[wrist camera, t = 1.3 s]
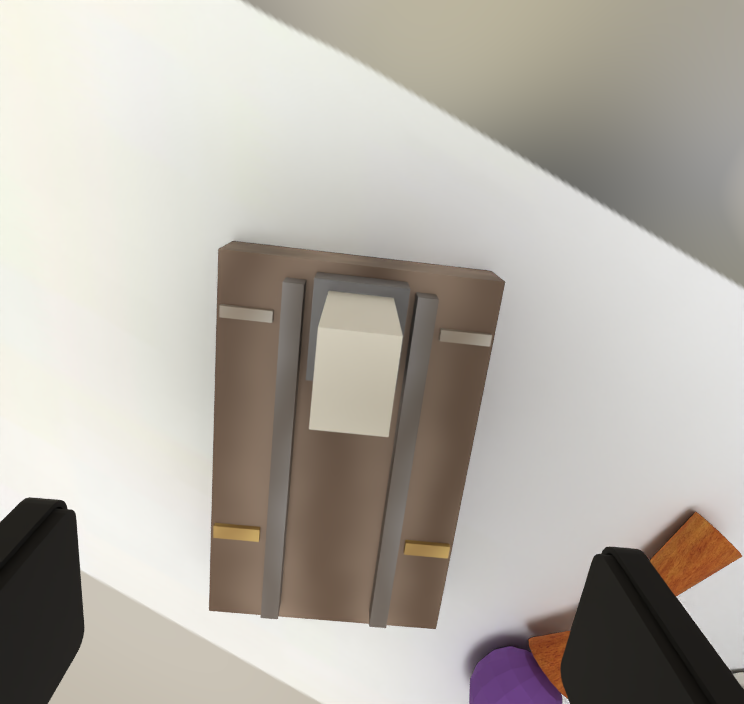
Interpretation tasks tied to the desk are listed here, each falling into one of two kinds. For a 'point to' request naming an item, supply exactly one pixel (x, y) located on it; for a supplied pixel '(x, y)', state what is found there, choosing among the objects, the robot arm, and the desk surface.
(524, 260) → the desk surface
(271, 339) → the brown slider board
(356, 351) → the fader tab
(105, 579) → the desk surface
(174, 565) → the desk surface
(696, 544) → the kendama
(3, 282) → the desk surface
